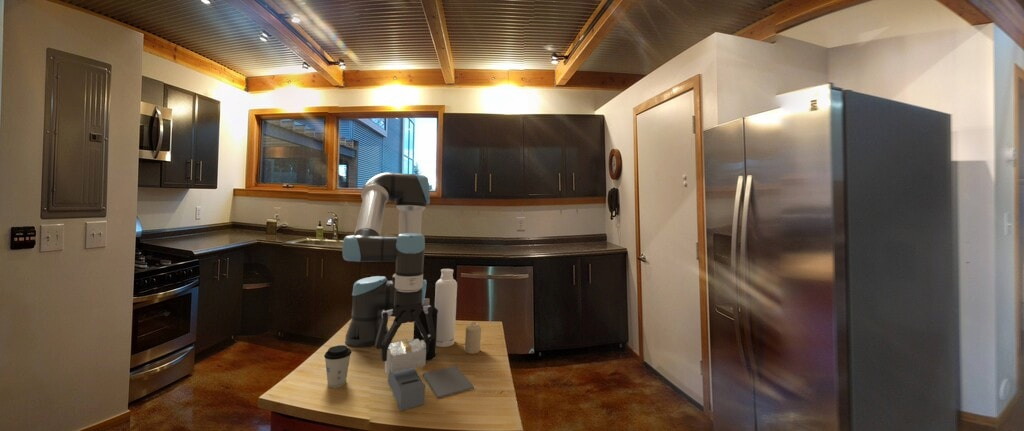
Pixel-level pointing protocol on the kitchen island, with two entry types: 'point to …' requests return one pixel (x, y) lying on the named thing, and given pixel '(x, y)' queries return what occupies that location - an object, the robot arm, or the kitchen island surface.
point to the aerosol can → (417, 334)
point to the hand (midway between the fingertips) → (405, 367)
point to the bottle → (446, 308)
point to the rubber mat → (447, 381)
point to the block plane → (407, 388)
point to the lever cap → (407, 355)
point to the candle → (473, 338)
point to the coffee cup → (337, 365)
